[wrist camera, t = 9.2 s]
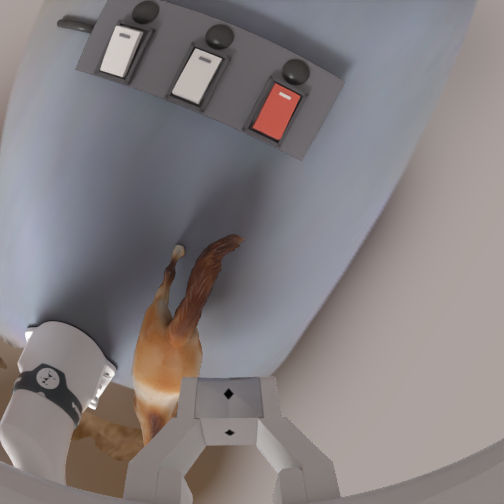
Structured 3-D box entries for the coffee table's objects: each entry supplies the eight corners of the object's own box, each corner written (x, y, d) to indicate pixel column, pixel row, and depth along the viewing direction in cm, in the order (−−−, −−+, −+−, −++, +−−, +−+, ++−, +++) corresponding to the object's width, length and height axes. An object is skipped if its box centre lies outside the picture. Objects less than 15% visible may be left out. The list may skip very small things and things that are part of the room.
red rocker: (276, 140, 30) (280, 138, 29) (251, 128, 29) (254, 125, 28) (295, 99, 29) (300, 95, 28) (271, 87, 29) (275, 82, 27)
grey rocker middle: (198, 105, 28) (198, 102, 27) (173, 94, 27) (171, 91, 26) (221, 62, 27) (221, 58, 26) (195, 53, 26) (195, 48, 25)
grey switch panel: (296, 155, 35) (303, 162, 31) (44, 59, 26) (27, 58, 23) (336, 82, 31) (348, 82, 27) (77, -12, 22) (63, -20, 19)
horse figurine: (179, 375, 51) (168, 481, 33) (137, 363, 49) (113, 468, 31) (243, 217, 38) (255, 337, 20) (183, 197, 36) (139, 304, 18)
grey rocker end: (128, 75, 27) (122, 77, 25) (106, 68, 26) (99, 70, 25) (145, 32, 24) (139, 32, 23) (122, 25, 23) (115, 25, 22)
